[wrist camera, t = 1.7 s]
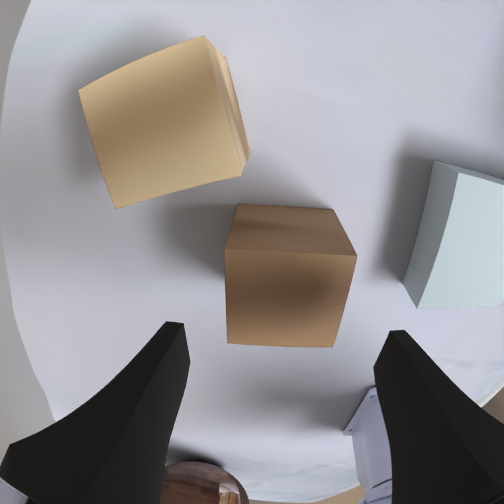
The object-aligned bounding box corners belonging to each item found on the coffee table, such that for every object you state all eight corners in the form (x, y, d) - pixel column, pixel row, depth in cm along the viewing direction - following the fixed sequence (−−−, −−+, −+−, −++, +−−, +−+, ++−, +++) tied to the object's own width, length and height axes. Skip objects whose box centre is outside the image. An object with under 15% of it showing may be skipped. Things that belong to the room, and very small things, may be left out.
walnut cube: (320, 286, 17) (332, 347, 13) (237, 282, 18) (227, 343, 13) (333, 209, 15) (357, 255, 11) (238, 203, 15) (224, 248, 11)
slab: (482, 281, 17) (501, 305, 14) (400, 279, 17) (416, 308, 15) (513, 182, 13) (541, 198, 10) (430, 158, 13) (458, 172, 11)
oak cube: (250, 152, 14) (240, 176, 9) (159, 176, 15) (115, 209, 10) (226, 58, 11) (203, 35, 7) (133, 90, 12) (78, 90, 8)
